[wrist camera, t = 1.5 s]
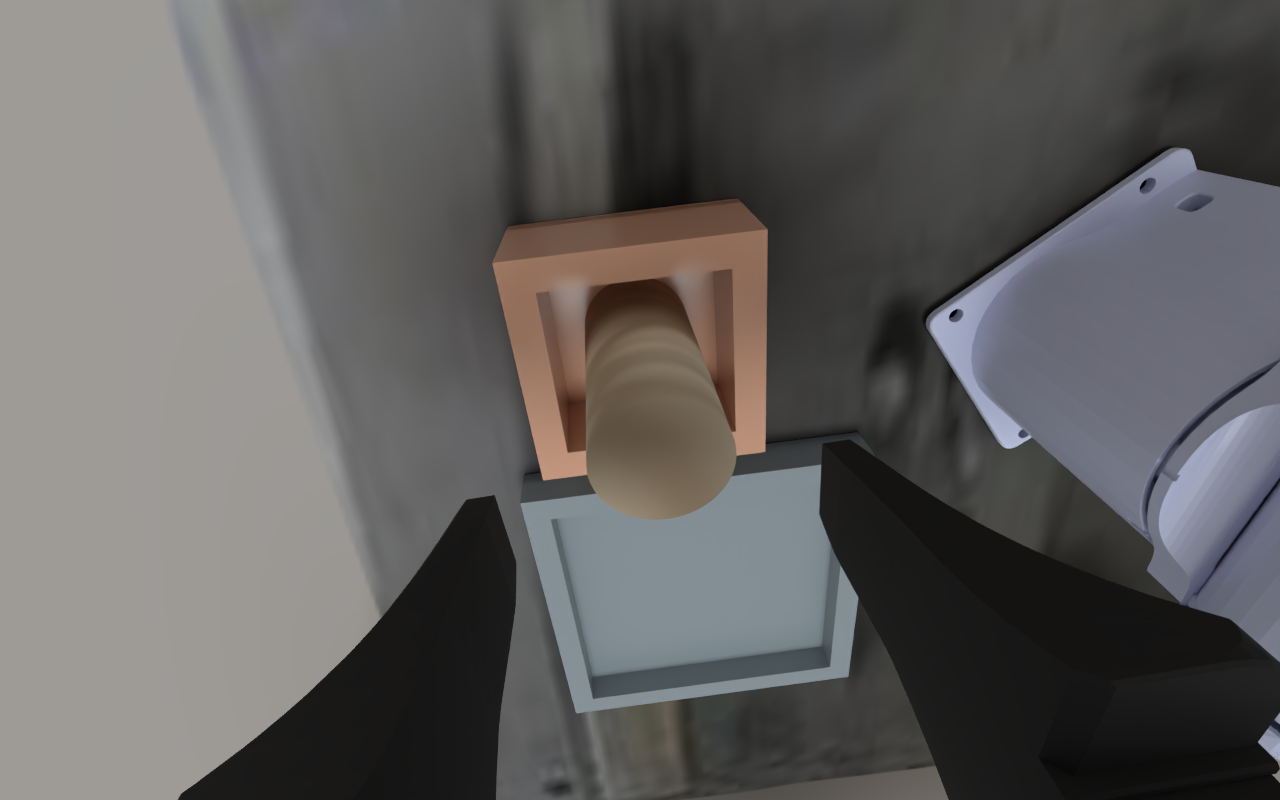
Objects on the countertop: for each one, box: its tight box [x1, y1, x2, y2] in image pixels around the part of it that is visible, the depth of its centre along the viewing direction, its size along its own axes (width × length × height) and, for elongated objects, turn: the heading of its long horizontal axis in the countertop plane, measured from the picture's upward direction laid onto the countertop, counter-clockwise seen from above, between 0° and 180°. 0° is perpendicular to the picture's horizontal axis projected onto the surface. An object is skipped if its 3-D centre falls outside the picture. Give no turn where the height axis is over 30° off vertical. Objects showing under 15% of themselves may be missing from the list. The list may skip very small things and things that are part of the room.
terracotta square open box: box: [492, 198, 768, 480], centre depth 20 cm, size 8×8×4 cm
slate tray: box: [520, 432, 876, 713], centre depth 28 cm, size 14×14×2 cm
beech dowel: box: [585, 279, 737, 520], centre depth 18 cm, size 4×4×8 cm
